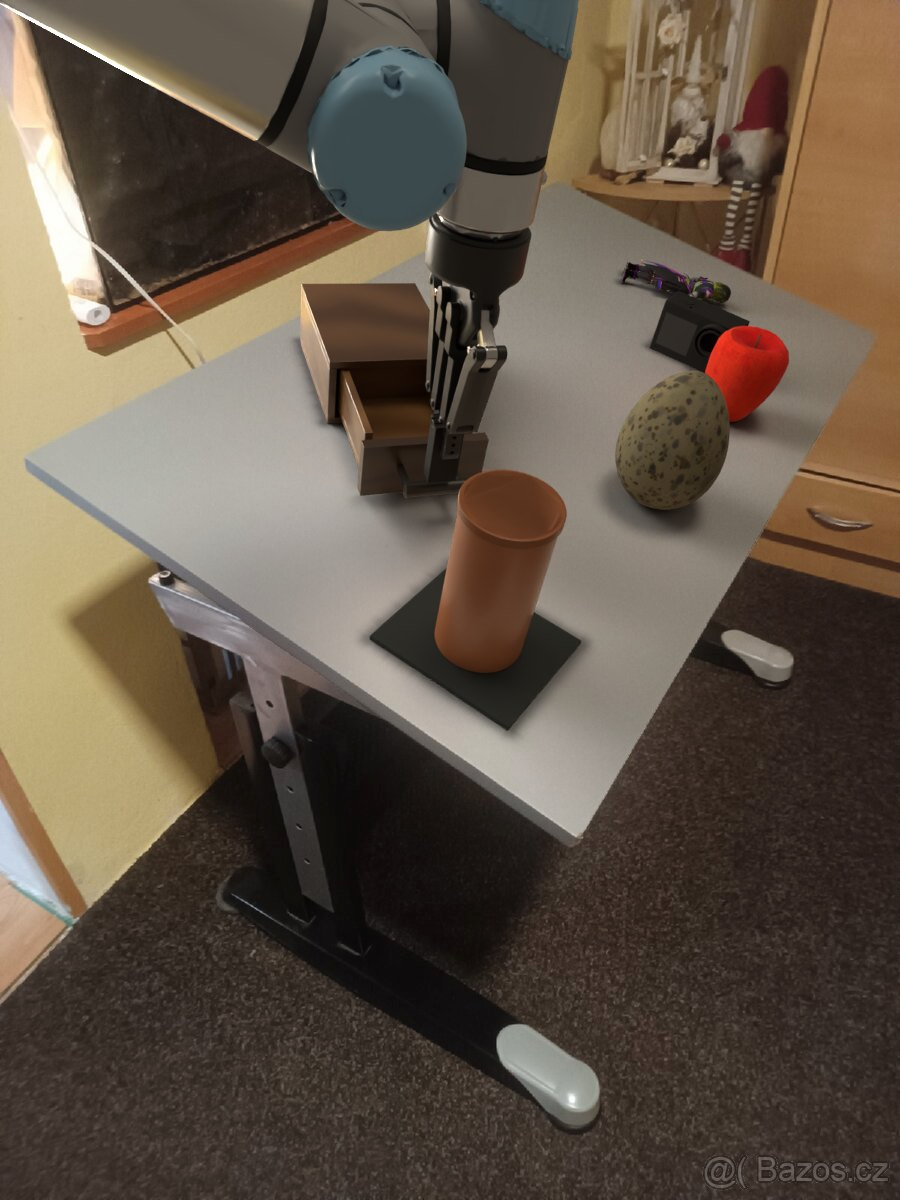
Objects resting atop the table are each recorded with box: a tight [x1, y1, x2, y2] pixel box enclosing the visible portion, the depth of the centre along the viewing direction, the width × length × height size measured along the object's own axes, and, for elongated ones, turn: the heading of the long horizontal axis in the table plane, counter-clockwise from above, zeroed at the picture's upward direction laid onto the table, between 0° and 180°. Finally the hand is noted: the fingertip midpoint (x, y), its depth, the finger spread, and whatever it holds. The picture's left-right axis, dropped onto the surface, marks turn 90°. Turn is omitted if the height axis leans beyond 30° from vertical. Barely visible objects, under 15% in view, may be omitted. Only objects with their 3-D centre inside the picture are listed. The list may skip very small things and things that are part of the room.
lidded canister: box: [435, 469, 568, 673], centre depth 65 cm, size 8×8×15 cm
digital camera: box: [649, 291, 751, 373], centre depth 108 cm, size 10×5×7 cm, turn 55°
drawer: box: [335, 365, 490, 499], centre depth 84 cm, size 20×12×6 cm, turn 17°
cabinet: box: [299, 282, 430, 425], centre depth 94 cm, size 17×14×8 cm
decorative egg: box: [614, 370, 731, 511], centre depth 83 cm, size 11×11×15 cm
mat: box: [369, 567, 582, 731], centre depth 71 cm, size 14×12×1 cm
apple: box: [705, 325, 790, 423], centre depth 99 cm, size 9×9×11 cm
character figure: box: [620, 258, 732, 305], centre depth 123 cm, size 9×4×16 cm
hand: (439, 476), depth 76 cm, fingers closed
